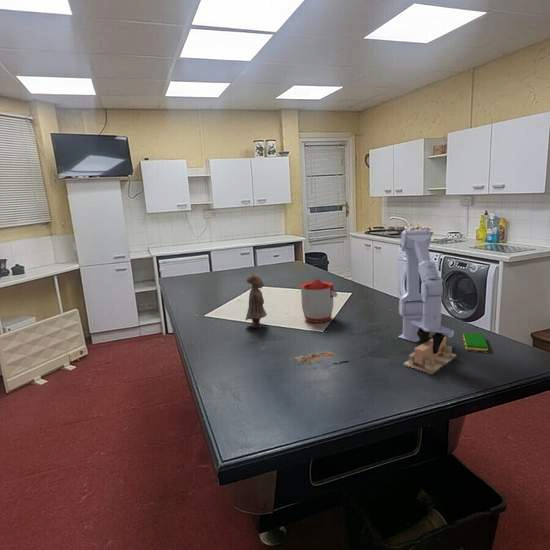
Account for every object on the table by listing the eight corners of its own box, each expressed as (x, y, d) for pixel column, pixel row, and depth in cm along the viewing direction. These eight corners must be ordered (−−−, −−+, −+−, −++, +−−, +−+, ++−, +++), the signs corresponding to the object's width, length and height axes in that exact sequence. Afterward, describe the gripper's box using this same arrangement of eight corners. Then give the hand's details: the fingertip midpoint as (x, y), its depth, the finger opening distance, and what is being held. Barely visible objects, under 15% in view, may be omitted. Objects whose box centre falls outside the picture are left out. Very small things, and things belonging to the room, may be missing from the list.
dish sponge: (466, 351, 143) (466, 345, 143) (463, 338, 156) (463, 332, 155) (487, 353, 140) (488, 347, 140) (483, 339, 153) (483, 333, 153)
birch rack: (429, 349, 145) (429, 339, 144) (456, 357, 138) (456, 346, 137) (403, 365, 134) (403, 354, 133) (431, 374, 126) (431, 363, 125)
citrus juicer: (334, 326, 176) (333, 283, 171) (297, 323, 181) (296, 282, 177) (340, 315, 190) (339, 275, 186) (306, 313, 196) (304, 274, 192)
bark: (334, 349, 150) (334, 348, 150) (350, 361, 140) (350, 359, 139) (282, 361, 143) (282, 360, 143) (294, 374, 132) (294, 373, 132)
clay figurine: (268, 329, 175) (265, 276, 170) (246, 332, 174) (242, 277, 169) (265, 320, 188) (262, 270, 183) (245, 322, 187) (241, 272, 181)
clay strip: (437, 348, 141) (438, 335, 140) (445, 350, 139) (446, 337, 138) (414, 361, 131) (414, 348, 130) (422, 364, 129) (422, 350, 128)
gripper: (406, 312, 135) (405, 349, 138) (447, 321, 124) (445, 361, 127) (416, 308, 139) (415, 343, 142) (457, 316, 129) (455, 354, 131)
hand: (430, 351), depth 135 cm, fingers closed on clay strip, 3 cm apart
